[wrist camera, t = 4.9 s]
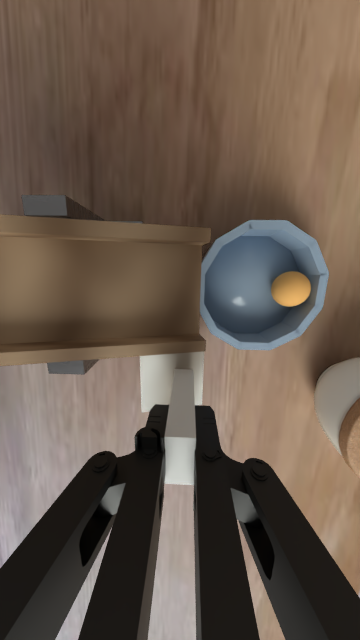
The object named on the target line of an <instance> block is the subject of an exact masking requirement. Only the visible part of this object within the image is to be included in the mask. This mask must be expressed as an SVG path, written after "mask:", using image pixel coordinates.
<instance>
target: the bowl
mask: <svg viewBox="0 0 360 640" xmlns="http://www.w3.org/2000/svg"><path fill="white" fill-rule="evenodd" d="M289 271H296V272H300V273H302V274H304V275H305V276H306V277H307V278H308V279H309V281H310V284H311V291H310V294H309V296H308V298H307V299H306V300H305V301H304V302H302V303H301V304H299V305H296V306H291V307H288V306H283V305H280V304H278V303H277V302H276V301H275V300H274V299H273V297H272V294H271V286H272V283H273V282H274V280H275V279H276V278H277V277H278V276H279V275H281V274H283V273H285V272H289ZM328 276H329V272H328V269H327V266H326V264H325V261H324V259H323V256H322V253H321V251H320V248H319V246H318V243H317V241H316V240H315V239H314V238H312V237H311V236H309V235H308V234H306V233H305V232H303V231H302V230H301V229H299V228H298V227H296V226H295V225H293V224H292V223H290V222H289V221H287V220H248V221H247V222H245V223H243V224H242V225H240V226H238V227H236V228H235V229H233V230H231V231H230V232H228V233H226V234H225V235H223V236H221V237H219V238H218V239H216V240H215V241H214V242H213V244H212V245H211V246H210V248H209V249H208V251H207V253H206V254H205V256H204V258H203V259H202V265H201V291H200V314H201V316H202V318H203V319H204V321H205V323H206V325H207V327H208V329H209V330H210V332H211V334H213V335H215V336H216V337H218V338H220V339H221V340H223V341H225V342H226V343H228V344H230V345H232V346H233V347H235V348H237V349H244V350H272V349H274V348H276V347H278V346H280V345H282V344H284V343H286V342H288V341H291V340H293V339H295V338H297V337H299V336H301V335H302V334H303V332H304V331H305V330H306V328H307V327H308V326H309V325H310V323H311V322H312V321H313V320H314V318H315V317H316V316H317V315H318V313H319V312H320V311H321V309H322V308H323V304H324V298H325V293H326V287H327V282H328Z"/></svg>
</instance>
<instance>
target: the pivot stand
mask: <svg viewBox="0 0 360 640" xmlns="http://www.w3.org/2000/svg"><path fill="white" fill-rule="evenodd" d="M22 202H23V208H24V215H25V216H32V217H47V218H63V219H79V220H94V221H105V220H103V219H102V218H100V217H99V216H97V215H95V214H94V213H92V212H91V211H89V210H88V209H86V208H84V207H83V206H81V205H80V204H78V203H77V202H75V201H73V200H72V199H70V198H69V197H67V196H66V195H22ZM110 222H126V223H141V224H143V222H142V221H110ZM98 360H99V359H93V360H79V361H65V362H51V363H47V365H48V371H49V373H52V374H85V373H86V372H87V371H88V370H89V369H90V368H91V367H92V366H93V365H94V364H95V363H96V362H97V361H98Z"/></svg>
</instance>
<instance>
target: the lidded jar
mask: <svg viewBox="0 0 360 640" xmlns="http://www.w3.org/2000/svg"><path fill="white" fill-rule="evenodd" d="M314 408H315V412H316V416H317V418H318V421H319V423H320V425H321V427H322V429H323V431H324V432H325V434H326V436H327V437H328V439H329V440H330V442H331V443H332V444H333V446H334V447H335V448H336V450H337V451H338V452H339V453H340V454H341V456H342V457H343V458H344V460H345V462H346V463H347V465H348V466H349V467H350V468H351V470H352V471H353V472H354V473H355V474H356V475H357V476H358V478H360V357H357V358H352V359H348V360H345V361H342V362H339V363H336V364H334V365H332V366H330V367H329V368H327V369H326V370H325V371H324V372H323V373H322V374H321V375H320V377H319V379H318V381H317V384H316V389H315V393H314Z"/></svg>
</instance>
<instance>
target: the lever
mask: <svg viewBox="0 0 360 640" xmlns="http://www.w3.org/2000/svg"><path fill="white" fill-rule="evenodd" d="M210 241H211V228H204V227H188V226H172V225H157V224H141V223H126V222H110V221H94V220H79V219H63V218H47V217H32V216H16V215H1V214H0V366H9V365H23V364H37V363H51V362H65V361H79V360H93V359H106V358H120V357H134V356H140V378H141V406H142V412H149V411H150V409H151V408H152V407H153V406H154V405H155V404H162V405H169V404H170V397H171V391H172V384H173V378H174V371H175V369H192V370H193V374H194V399H195V405H202V391H203V368H204V351H205V348H206V340H205V339H204V338H203V337H202V336H201V335H200V334H199V318H200V291H201V265H202V245H204V244H207V243H209V242H210Z"/></svg>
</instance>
